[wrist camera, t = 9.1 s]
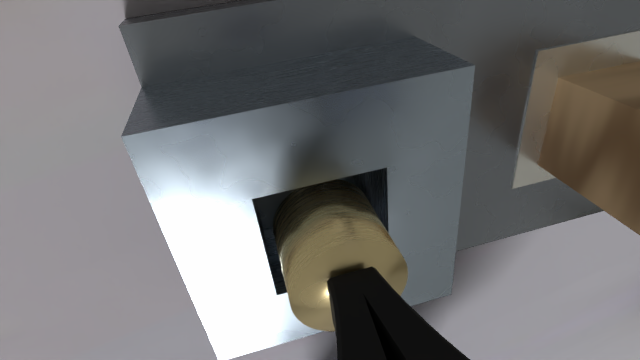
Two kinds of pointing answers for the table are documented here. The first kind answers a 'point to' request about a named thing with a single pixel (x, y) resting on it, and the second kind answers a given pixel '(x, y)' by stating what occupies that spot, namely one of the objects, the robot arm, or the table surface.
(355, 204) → the pin
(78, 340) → the table surface
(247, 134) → the base
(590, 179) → the oak block
